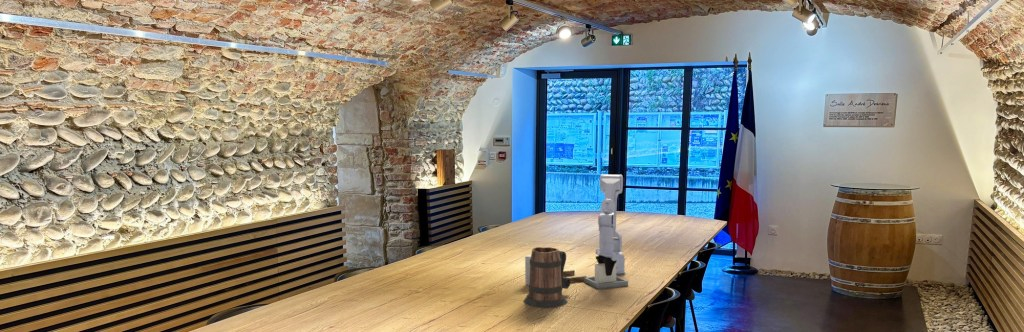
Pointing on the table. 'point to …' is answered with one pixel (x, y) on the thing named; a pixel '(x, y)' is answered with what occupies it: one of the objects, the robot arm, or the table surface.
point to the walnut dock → (573, 279)
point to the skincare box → (527, 269)
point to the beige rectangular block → (604, 274)
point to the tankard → (547, 278)
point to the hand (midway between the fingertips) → (605, 274)
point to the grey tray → (606, 283)
